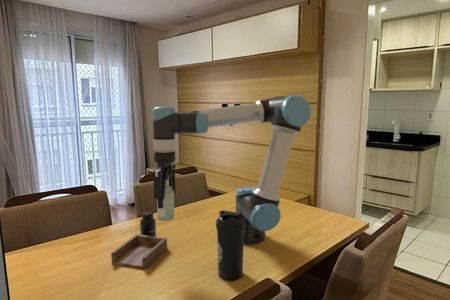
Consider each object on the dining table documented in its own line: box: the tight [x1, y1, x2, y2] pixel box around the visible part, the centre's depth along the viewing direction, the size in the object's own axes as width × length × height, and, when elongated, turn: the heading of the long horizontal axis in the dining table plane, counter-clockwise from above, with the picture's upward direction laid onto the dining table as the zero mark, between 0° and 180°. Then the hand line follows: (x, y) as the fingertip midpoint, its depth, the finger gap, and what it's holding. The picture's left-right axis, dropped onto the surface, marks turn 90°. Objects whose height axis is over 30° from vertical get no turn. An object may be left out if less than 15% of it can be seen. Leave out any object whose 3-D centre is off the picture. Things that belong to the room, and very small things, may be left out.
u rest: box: [110, 233, 168, 270], centre depth 119 cm, size 14×17×4 cm
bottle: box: [156, 176, 175, 222], centre depth 109 cm, size 6×6×16 cm
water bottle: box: [215, 209, 245, 282], centre depth 104 cm, size 10×10×23 cm
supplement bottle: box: [139, 211, 157, 237], centre depth 134 cm, size 7×7×12 cm
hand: (165, 212), depth 110 cm, fingers closed on bottle, 6 cm apart
